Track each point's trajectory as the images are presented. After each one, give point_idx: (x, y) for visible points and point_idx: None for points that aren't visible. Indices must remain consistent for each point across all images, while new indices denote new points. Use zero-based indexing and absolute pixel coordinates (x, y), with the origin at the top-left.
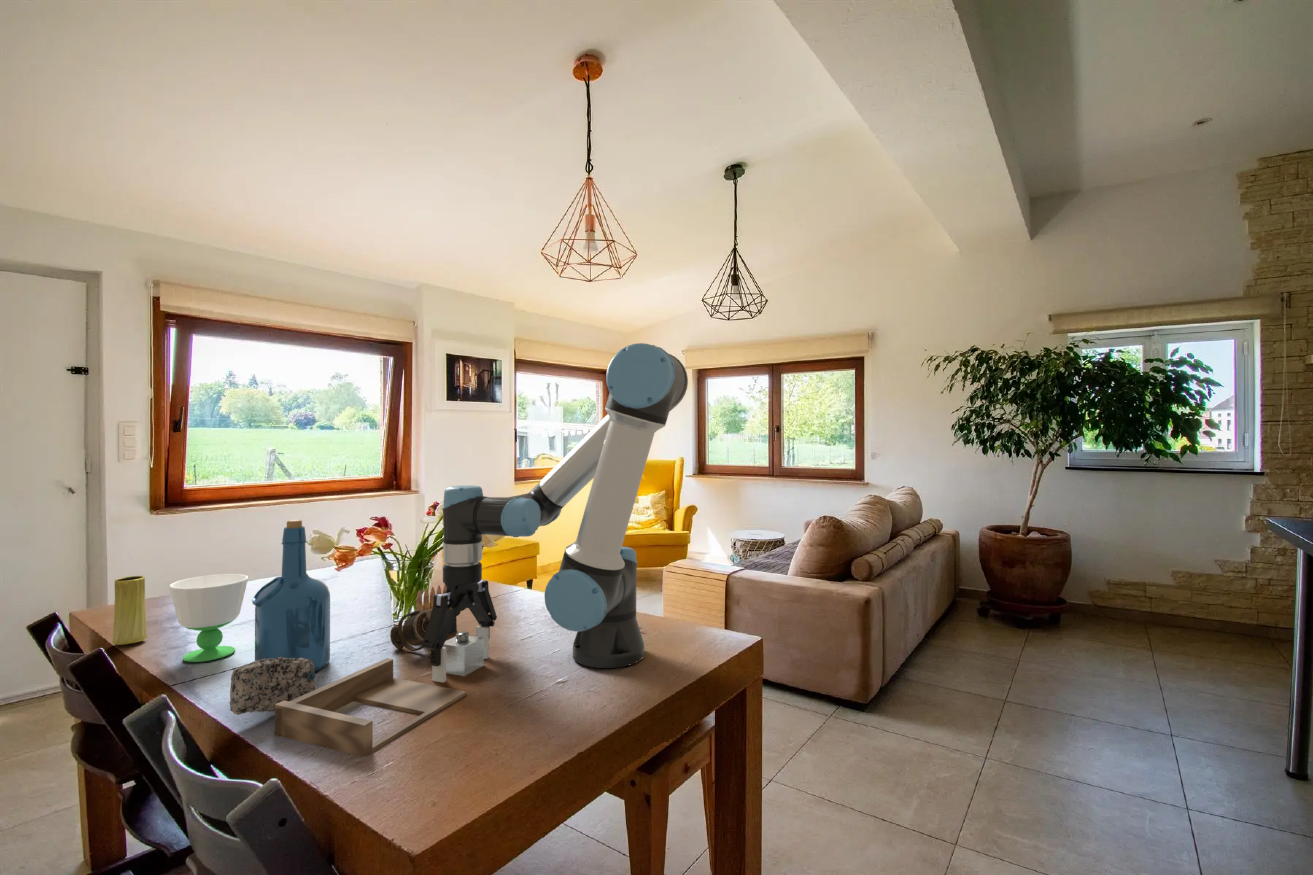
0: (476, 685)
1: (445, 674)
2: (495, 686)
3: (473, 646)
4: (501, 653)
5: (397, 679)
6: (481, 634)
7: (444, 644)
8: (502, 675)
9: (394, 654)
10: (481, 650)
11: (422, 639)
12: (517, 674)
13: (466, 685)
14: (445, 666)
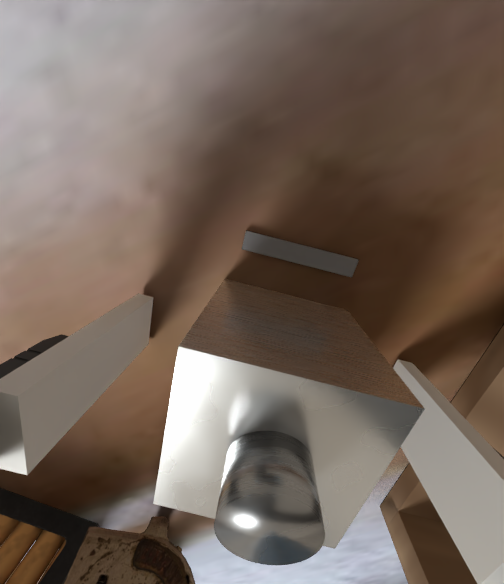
0: (436, 226)
1: (417, 379)
2: (460, 119)
3: (310, 363)
4: (67, 262)
5: (415, 497)
6: (72, 393)
7: (345, 525)
8: (314, 143)
9: (186, 545)
10: (229, 313)
11: (192, 579)
12: (295, 54)
13: (431, 270)
14: (442, 406)
